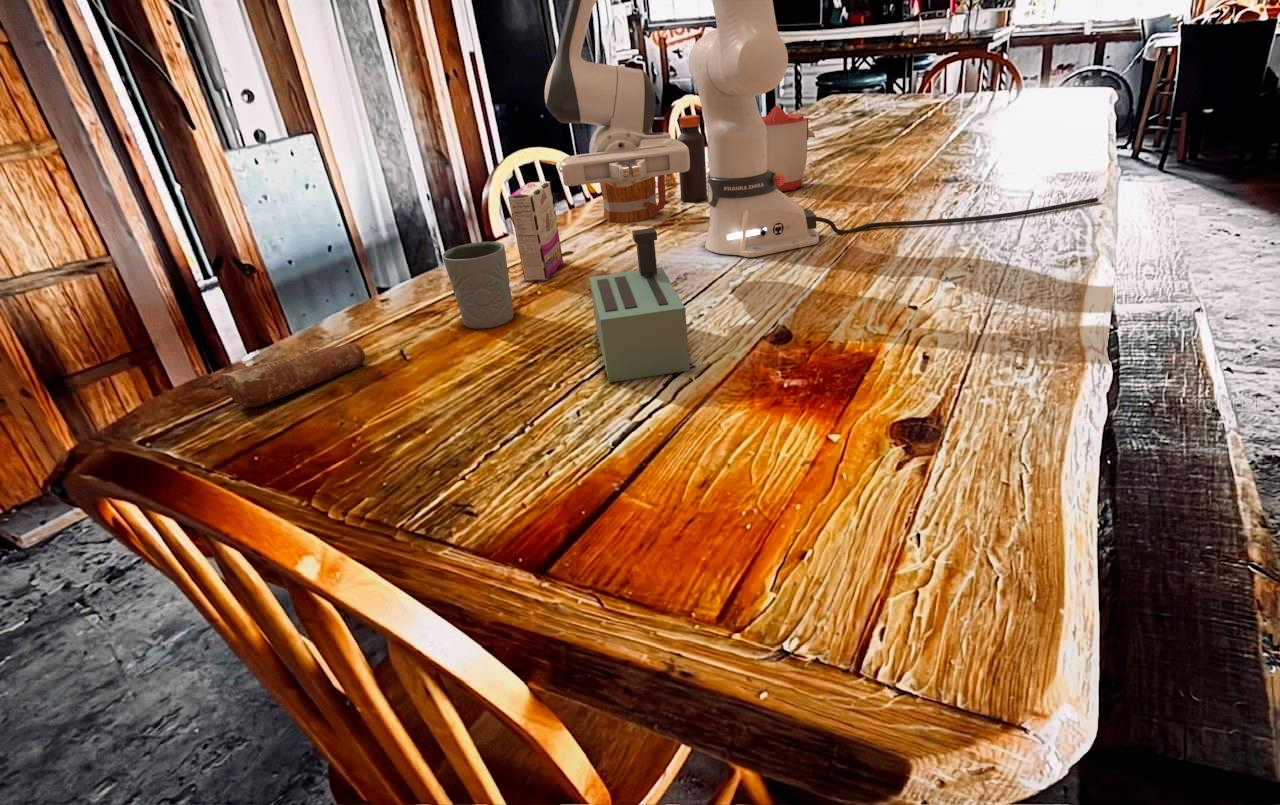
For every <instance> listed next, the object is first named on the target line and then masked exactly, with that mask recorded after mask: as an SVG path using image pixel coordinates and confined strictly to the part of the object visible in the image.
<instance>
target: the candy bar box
mask: <svg viewBox="0 0 1280 805" xmlns="http://www.w3.org/2000/svg"><path fill="white" fill-rule="evenodd" d="M508 203H509V208H510V212H511V218H512V223H513V228H514V234H515V236H516V243H517V247H518V254H519V257H520V263H521V268H522V273H523V278H524V281H525V282H540V281H541V282H542V281H548V280H549V279H550V278H551V277H552V276H553V274H554V273H555V272H557V270H558V269H559V268H560V267H561V265H563V264H564V258H563V253H562V252H563V251H562V246H561V240H560V234H559V228H558V222H557V217H556V211H555V210H556V209H555V205H554V204H555V203H554V198H553V193H552V186H551V181H532V182H531V181H530V182H527V183H525V184H524V185H523V186H521V187H520V188H519V189H517V190H516V191H515V192H513V193H512V194H510V195H509V196H508Z"/></svg>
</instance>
